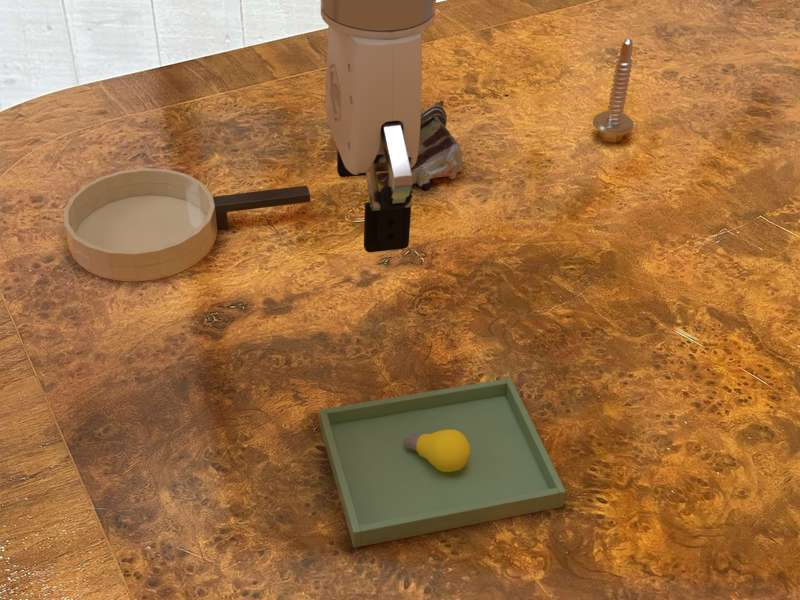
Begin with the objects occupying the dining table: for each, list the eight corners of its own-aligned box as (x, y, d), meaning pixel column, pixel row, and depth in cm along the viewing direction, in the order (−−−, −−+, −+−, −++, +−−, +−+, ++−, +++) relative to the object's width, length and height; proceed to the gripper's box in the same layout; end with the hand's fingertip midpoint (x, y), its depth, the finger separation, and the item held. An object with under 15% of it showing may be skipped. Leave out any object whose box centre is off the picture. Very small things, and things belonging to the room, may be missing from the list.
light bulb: (466, 484, 86) (451, 461, 84) (404, 468, 89) (388, 446, 87) (482, 449, 88) (468, 425, 85) (421, 435, 91) (406, 412, 89)
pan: (71, 291, 104) (65, 262, 102) (67, 204, 115) (62, 177, 113) (225, 270, 107) (223, 242, 105) (207, 187, 118) (204, 161, 116)
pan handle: (217, 231, 112) (214, 206, 110) (215, 222, 113) (212, 196, 111) (311, 219, 114) (310, 194, 112) (307, 210, 115) (307, 184, 113)
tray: (353, 548, 82) (353, 532, 80) (319, 424, 91) (318, 409, 90) (563, 506, 85) (566, 491, 84) (508, 392, 95) (511, 377, 94)
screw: (621, 125, 131) (637, 145, 127) (584, 129, 130) (599, 150, 127) (640, 27, 123) (657, 46, 119) (600, 30, 122) (616, 49, 118)
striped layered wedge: (381, 208, 117) (461, 132, 113) (349, 163, 120) (426, 88, 116) (421, 227, 125) (497, 157, 122) (390, 184, 128) (464, 115, 125)
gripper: (298, -56, 75) (302, 152, 86) (348, 59, 62) (345, 287, 73) (402, -62, 76) (393, 144, 87) (472, 50, 63) (450, 274, 74)
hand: (371, 209), depth 80 cm, fingers open, 9 cm apart
